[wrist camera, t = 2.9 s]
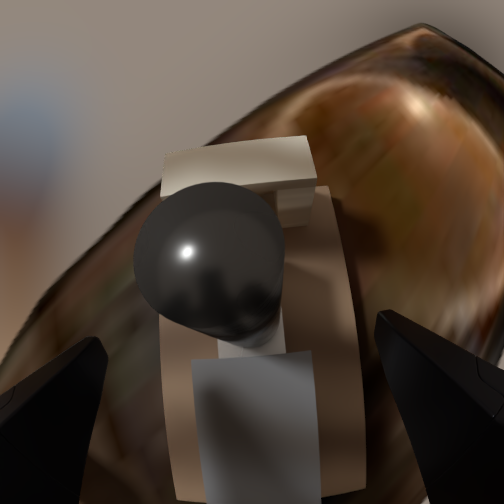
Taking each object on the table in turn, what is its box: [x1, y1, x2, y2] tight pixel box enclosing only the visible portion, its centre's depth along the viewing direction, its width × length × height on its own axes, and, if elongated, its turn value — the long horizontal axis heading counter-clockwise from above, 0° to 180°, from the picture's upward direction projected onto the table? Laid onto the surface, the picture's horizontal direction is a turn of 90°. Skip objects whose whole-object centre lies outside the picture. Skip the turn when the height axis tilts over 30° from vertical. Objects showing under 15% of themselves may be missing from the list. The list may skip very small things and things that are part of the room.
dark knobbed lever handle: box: [134, 182, 286, 359], centre depth 9 cm, size 15×3×11 cm, turn 5°
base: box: [159, 136, 366, 504], centre depth 14 cm, size 21×12×6 cm, turn 5°
